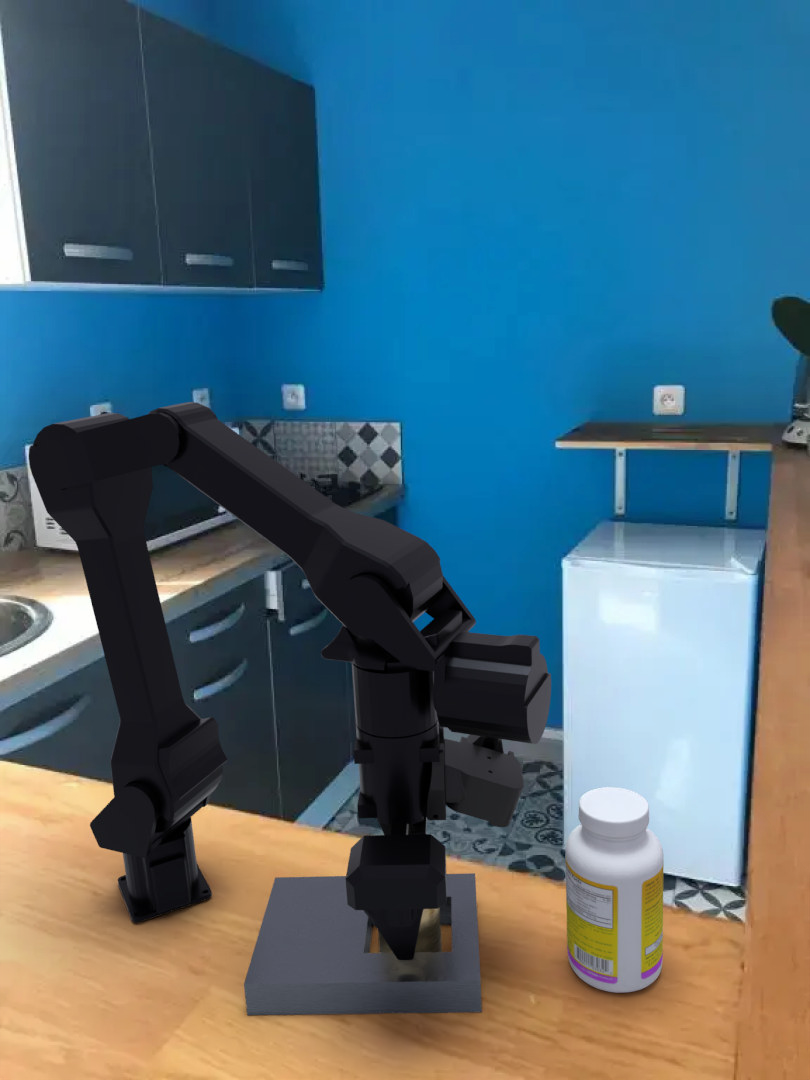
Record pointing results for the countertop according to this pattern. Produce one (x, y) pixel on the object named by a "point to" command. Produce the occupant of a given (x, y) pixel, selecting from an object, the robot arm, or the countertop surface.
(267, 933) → the jig
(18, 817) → the countertop surface
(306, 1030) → the countertop surface
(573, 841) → the supplement bottle
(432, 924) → the bushing
